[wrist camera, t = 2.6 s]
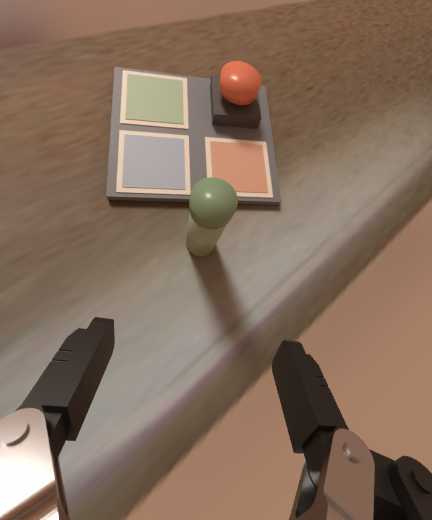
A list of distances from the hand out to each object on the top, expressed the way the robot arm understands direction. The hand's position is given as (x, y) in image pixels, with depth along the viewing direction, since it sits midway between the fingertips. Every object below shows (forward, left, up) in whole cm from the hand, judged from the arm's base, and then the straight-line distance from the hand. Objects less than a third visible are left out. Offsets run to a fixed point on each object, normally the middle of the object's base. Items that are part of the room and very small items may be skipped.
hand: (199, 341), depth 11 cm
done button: (+7, +28, -11) cm, 30 cm away
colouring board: (+2, +23, -13) cm, 26 cm away
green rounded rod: (+2, +9, -13) cm, 16 cm away
